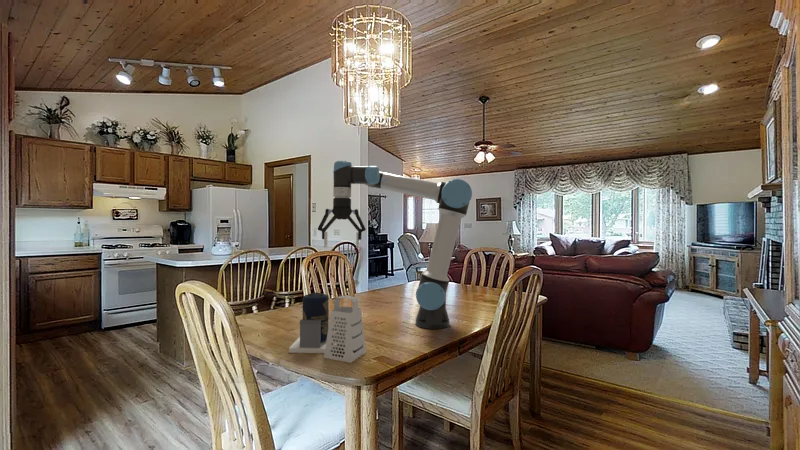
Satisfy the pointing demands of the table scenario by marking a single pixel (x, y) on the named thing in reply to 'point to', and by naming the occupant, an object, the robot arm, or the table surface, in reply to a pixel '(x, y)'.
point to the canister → (317, 311)
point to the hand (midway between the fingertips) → (341, 247)
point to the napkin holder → (309, 338)
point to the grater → (345, 332)
